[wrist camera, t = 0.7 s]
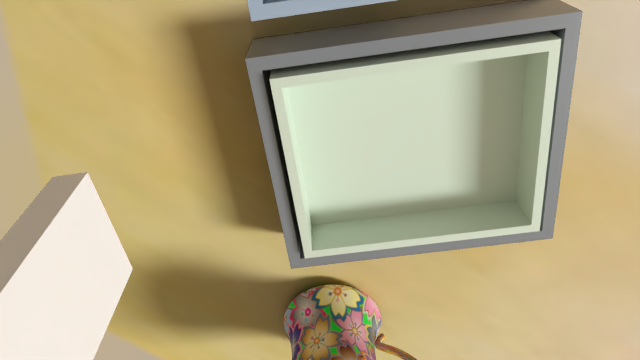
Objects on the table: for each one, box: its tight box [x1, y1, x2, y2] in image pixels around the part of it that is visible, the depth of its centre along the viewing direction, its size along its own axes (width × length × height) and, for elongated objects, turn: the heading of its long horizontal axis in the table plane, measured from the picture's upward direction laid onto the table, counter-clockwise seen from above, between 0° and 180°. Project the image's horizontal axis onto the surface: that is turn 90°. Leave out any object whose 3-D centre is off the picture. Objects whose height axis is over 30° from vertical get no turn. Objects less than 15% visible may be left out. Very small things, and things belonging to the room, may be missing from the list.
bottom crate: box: [245, 0, 582, 269], centre depth 33 cm, size 16×19×4 cm
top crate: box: [269, 31, 561, 258], centre depth 33 cm, size 13×16×4 cm
